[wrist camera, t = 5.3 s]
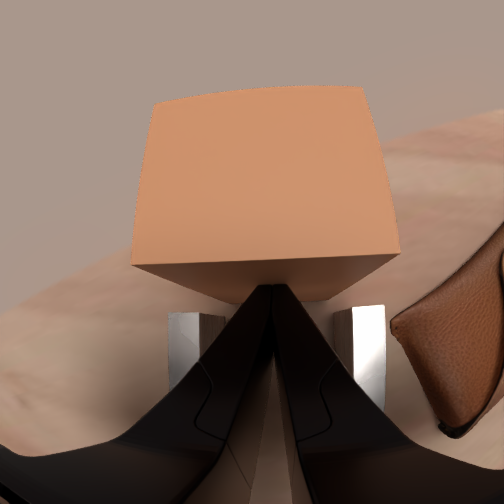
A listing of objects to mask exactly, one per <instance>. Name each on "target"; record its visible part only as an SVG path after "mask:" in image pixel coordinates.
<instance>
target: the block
mask: <svg viewBox="0 0 504 504" xmlns="http://www.w3.org/2000/svg"><path fill="white" fill-rule="evenodd" d="M400 253H401V252H400V244H399V237H398V230H397V224H396V218H395V212H394V207H393V201H392V196H391V191H390V186H389V181H388V177H387V172H386V168H385V164H384V160H383V156H382V152H381V148H380V144H379V140H378V137H377V133H376V130H375V126H374V123H373V119H372V117H371V113H370V109H369V106H368V103H367V100H366V97H365V94H364V91H363V89H362V87H353V86H352V87H351V86H287V87H286V86H285V87H268V88H255V89H245V90H235V91H226V92H218V93H212V94H204V95H198V96H192V97H186V98H181V99H175V100H170V101H165V102H161V103H156V104H155V105H154V109H153V113H152V117H151V122H150V127H149V132H148V136H147V142H146V147H145V152H144V158H143V164H142V170H141V176H140V183H139V189H138V197H137V205H136V212H135V221H134V231H133V241H132V253H131V265H132V266H135V267H137V268H140V269H142V270H144V271H147V272H149V273H152V274H154V275H157V276H159V277H162V278H164V279H167V280H169V281H172V282H174V283H177V284H179V285H182V286H184V287H187V288H189V289H192V290H195V291H197V292H200V293H203V294H205V295H208V296H211V297H213V298H216V299H219V300H221V301H224V302H227V303H244V302H245V300H246V299H247V298H248V296H249V295H250V294H251V293H252V291H253V290H254V289H255V288H256V286H257V285H263V284H271V285H272V286H273V285H274V284H287V285H288V286H289V287H290V289H291V290H292V291H293V293H294V294H295V296H296V297H297V299H298V300H299V301H316V300H329V299H330V298H332V297H334V296H335V295H337V294H339V293H340V292H342V291H343V290H345V289H347V288H348V287H350V286H351V285H353V284H355V283H356V282H358V281H359V280H361V279H362V278H364V277H366V276H367V275H369V274H370V273H372V272H373V271H375V270H376V269H378V268H379V267H381V266H382V265H384V264H385V263H387V262H388V261H390V260H391V259H393V258H394V257H396V256H397V255H399V254H400Z"/></svg>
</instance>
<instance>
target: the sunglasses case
mask: <svg viewBox="0 0 504 504" xmlns="http://www.w3.org/2000/svg"><path fill="white" fill-rule="evenodd" d="M390 329H391V334H392V335H393V336H395V338H396V339H397V341H398V342H399V343H400V344H401V345H402V347H403V349H404V351H405V353H406V355H407V357H408V359H409V361H410V363H411V365H412V367H413V369H414V371H415V373H416V375H417V377H418V379H419V381H420V383H421V385H422V387H423V389H424V391H425V393H426V395H427V398H428V400H429V401H430V404H431V406H432V407H433V410H434V413H435V414H436V416H437V418H438V419H439V420H440V422H441V423H440V424H439V425H438V428H439V429H440V430H441V431H442V432H443V433H444V434H445V435H447V436H448V437H450V438H453V439H459V438H461V437H463V436H464V435H465V434H467V433H468V432H469V431H470V430H471V429H472V428H473V427H474V426H475V425H476V424H477V423H478V421H479V420H480V419H481V418H482V417H483V416H484V415H485V414H486V413H488V411H489V410H490V409H492V407H493V406H495V405H496V404H497V403H498V402H499V400H500V399H501V398H502V397H503V396H504V223H503V224H502V225H501V227H500V228H499V229H498V230H497V231H496V232H495V233H494V235H493V236H492V237H491V238H490V239H489V240H488V241H487V243H486V244H485V245H484V246H482V247H481V248H480V250H479V251H478V252H477V253H476V254H475V255H474V256H473V257H472V258H471V259H470V260H469V261H467V262H466V264H465V265H463V266H462V267H461V269H459V270H458V271H457V272H456V273H454V274H453V276H452V277H450V278H449V279H448V280H447V281H446V282H444V284H442V285H441V286H440V287H438V288H437V289H436V290H434V291H432V292H431V293H430V294H429V295H427V296H426V297H424V298H423V299H422V300H420V301H419V302H417V303H416V304H414V305H413V306H411V307H409V308H407V309H406V310H404V311H402V312H400V313H399V314H398V315H396V316H395V317H394V318H393V319H392V320H391V321H390Z"/></svg>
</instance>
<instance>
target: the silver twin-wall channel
mask: <svg viewBox="0 0 504 504" xmlns="http://www.w3.org/2000/svg"><path fill="white" fill-rule="evenodd" d="M224 327H225V317H224V316H217V315H209V314H202V313H184V312H168V358H169V386H170V391H171V390H172V389H173V388H174V387H175V386H176V385H177V384H178V383H179V381H180V380H181V379H182V378H183V377H184V376H185V375H186V373H187V372H188V371H189V370H190V369H191V367H192V366H193V365H194V364H195V363H196V362H198V359H199V358H200V357H201V355H202V354H203V353H204V352H205V350H206V349H207V348H208V347H209V346H210V344H211V343H212V342H213V341H214V339H215V338H216V337H217V336H218V334H219V333H220V332H221V331H222V329H223V328H224ZM334 332H335V353H336V354H337V356H338V357H339V359H340V360H341V361H342V363H343V364H344V366H345V367H346V369H347V370H348V371H349V373H350V374H351V375H352V377H353V378H354V379H355V381H356V382H357V383H358V385H359V386H360V387H361V388H362V389H363V390H364V392H365V393H366V394H367V395H368V396H369V397H370V398H371V399H372V401H373V402H374V403H375V404H376V405H377V406H378V407H379V408H380V409H381V410H382V411H383V412H384V407H385V384H386V332H385V308H384V305H377V306H365V307H352V308H350V309H347V310H343V311H339V312H335V313H334Z"/></svg>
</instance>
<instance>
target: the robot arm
mask: <svg viewBox="0 0 504 504" xmlns="http://www.w3.org/2000/svg"><path fill="white" fill-rule="evenodd" d="M273 359H275V368H276V376H277V383H278V391H279V398H280V406H281V414H282V421H283V429H284V437H285V445H286V453H287V461H288V469H289V477H290V485H291V490H292V491H291V493H292V501H293V504H504V469H502V470H492V469H487V468H482V467H479V466H476V465H473V464H469V463H466V462H463V461H460V460H457V459H454V458H451V457H449V456H446V455H443V454H440V453H438V452H435V451H432V450H430V449H427V448H424V447H422V446H420V445H418V444H417V443H415V442H413V441H412V440H411V439H409V438H408V437H407V436H406V435H405V434H404V433H403V432H402V431H401V430H400V429H399V428H398V427H397V426H396V425H395V424H394V423H393V422H392V421H391V420H390V419H389V418H388V417H387V416H386V414H385V413H384V412H383V411H382V410H381V409H380V408H379V407H378V406H377V405H376V404H375V403H374V402H373V401H372V399H371V398H370V397H369V396H368V395H367V394H366V393H365V392H364V390H363V389H362V388H361V387H360V386H359V385H358V383H357V382H356V381H355V379H354V378H353V377H352V375H351V374H350V373H349V371H348V370H347V369H346V367H345V366H344V364H343V363H342V361H341V360H340V359H339V357H338V356H337V354H336V353H335V352H334V350H333V349H332V347H331V346H330V344H329V343H328V342H327V340H326V339H325V337H324V336H323V334H322V333H321V331H320V330H319V329H318V327H317V326H316V324H315V323H314V321H313V320H312V319H311V317H310V316H309V314H308V313H307V311H306V310H305V309H304V307H303V306H302V304H301V303H300V301H299V300H298V299H297V297H296V296H295V294H294V293H293V291H292V290H291V289H290V287H289V286H288V285H287V284H274V285H273V286H272V285H271V284H263V285H257V286H256V288H255V289H254V290H253V291H252V293H251V294H250V295H249V296H248V298H247V299H246V300H245V302H244V303H243V304H242V305H241V307H240V308H239V309H238V310H237V312H236V313H235V314H234V316H233V317H232V318H231V319H230V321H229V322H228V323H227V324H226V326H225V327H224V328H223V329H222V331H221V332H220V333H219V334H218V336H217V337H216V338H215V339H214V341H213V342H212V343H211V344H210V346H209V347H208V348H207V349H206V350H205V352H204V353H203V354H202V355H201V357H200V358H199V359H198V362H196V363H195V364H194V365H193V366H192V367H191V369H190V370H189V371H188V372H187V373H186V375H185V376H184V377H183V378H182V379H181V380H180V381H179V383H178V384H177V385H176V386H175V387H174V388H173V389H172V390H171V391H170V392H169V393H168V394H167V395H166V396H165V397H164V398H163V399H162V400H160V401H159V402H158V403H157V404H156V405H155V406H154V407H153V408H152V409H151V410H150V411H149V412H147V413H146V414H145V415H144V416H143V417H142V418H141V419H140V420H139V421H138V422H136V423H135V424H134V425H133V426H132V427H131V428H130V429H128V430H127V431H126V432H125V433H123V434H122V435H120V436H118V437H116V438H115V439H113V440H110V441H108V442H104V443H101V444H97V445H93V446H89V447H84V448H80V449H76V450H71V451H66V452H61V453H56V454H51V455H45V456H36V457H30V456H22V455H18V454H16V453H14V452H12V451H11V450H9V449H8V448H6V447H5V446H3V445H1V444H0V504H249V500H250V495H251V489H252V484H253V479H254V474H255V468H256V463H257V458H258V452H259V447H260V441H261V435H262V429H263V424H264V418H265V412H266V406H267V399H268V393H269V387H270V380H271V374H272V367H273Z"/></svg>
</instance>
